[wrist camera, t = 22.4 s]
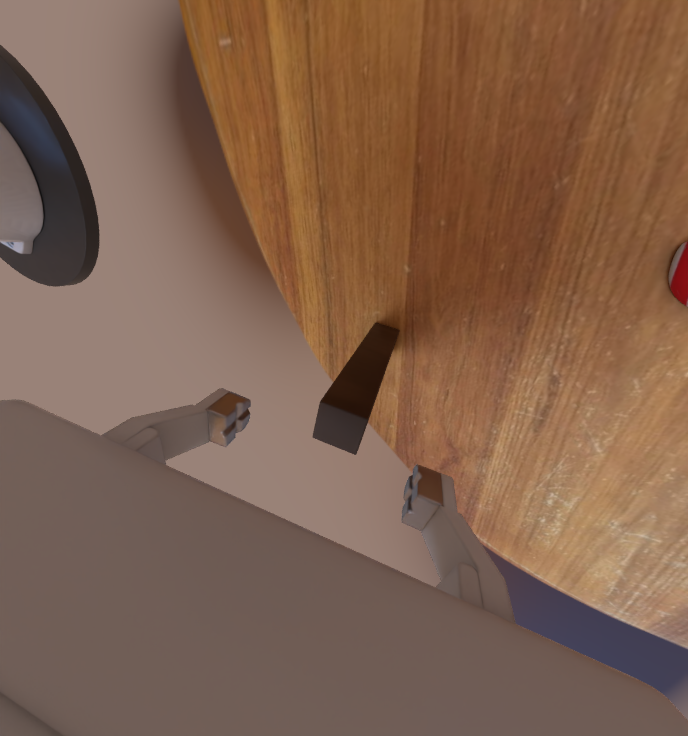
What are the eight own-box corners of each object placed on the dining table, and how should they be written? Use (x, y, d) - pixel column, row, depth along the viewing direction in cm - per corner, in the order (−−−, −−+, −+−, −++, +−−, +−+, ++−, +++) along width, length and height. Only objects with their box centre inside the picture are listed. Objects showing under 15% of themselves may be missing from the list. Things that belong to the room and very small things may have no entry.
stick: (368, 344, 25) (311, 437, 13) (375, 322, 24) (319, 401, 12) (391, 352, 24) (355, 455, 12) (399, 329, 23) (368, 419, 11)
